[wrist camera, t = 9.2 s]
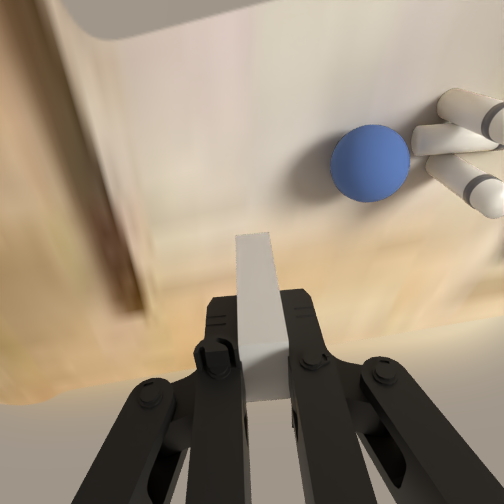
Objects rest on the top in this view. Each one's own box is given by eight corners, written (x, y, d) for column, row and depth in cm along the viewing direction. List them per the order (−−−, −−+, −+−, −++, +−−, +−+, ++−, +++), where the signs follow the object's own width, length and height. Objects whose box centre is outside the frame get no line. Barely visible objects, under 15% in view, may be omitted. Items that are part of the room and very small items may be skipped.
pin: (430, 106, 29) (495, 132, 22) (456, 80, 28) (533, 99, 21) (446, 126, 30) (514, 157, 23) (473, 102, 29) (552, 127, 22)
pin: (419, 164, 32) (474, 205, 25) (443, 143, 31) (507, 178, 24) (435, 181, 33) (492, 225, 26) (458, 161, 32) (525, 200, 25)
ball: (422, 152, 30) (353, 137, 32) (423, 118, 24) (340, 103, 27) (394, 219, 30) (328, 199, 32) (389, 199, 24) (310, 177, 27)
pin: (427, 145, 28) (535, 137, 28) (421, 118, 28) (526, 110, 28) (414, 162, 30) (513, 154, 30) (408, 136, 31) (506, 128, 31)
